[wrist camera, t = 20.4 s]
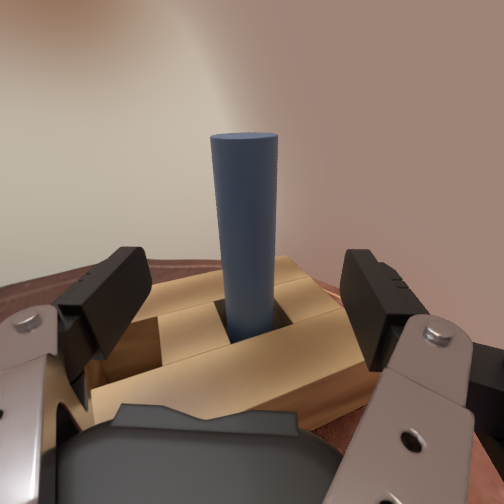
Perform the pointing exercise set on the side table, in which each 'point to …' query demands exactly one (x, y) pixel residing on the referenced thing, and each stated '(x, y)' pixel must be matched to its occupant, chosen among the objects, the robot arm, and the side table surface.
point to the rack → (236, 355)
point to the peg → (246, 228)
